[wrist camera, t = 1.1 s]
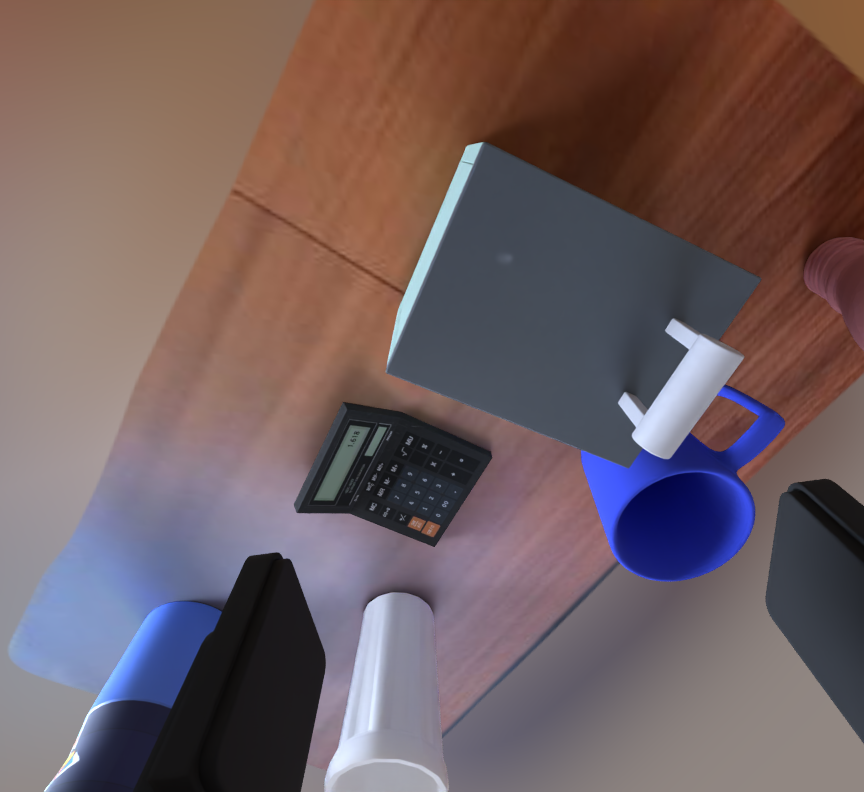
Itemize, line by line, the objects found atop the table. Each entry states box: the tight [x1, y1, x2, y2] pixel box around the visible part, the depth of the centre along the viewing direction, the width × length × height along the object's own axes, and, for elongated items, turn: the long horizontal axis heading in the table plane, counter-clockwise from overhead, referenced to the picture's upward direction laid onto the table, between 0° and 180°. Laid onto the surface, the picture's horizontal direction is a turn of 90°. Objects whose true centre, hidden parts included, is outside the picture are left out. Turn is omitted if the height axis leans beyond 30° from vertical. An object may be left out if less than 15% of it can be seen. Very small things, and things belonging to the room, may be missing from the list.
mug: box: [581, 385, 785, 581], centre depth 33 cm, size 8×12×10 cm
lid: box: [386, 142, 761, 468], centre depth 22 cm, size 14×11×5 cm
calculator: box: [294, 402, 492, 547], centre depth 38 cm, size 9×12×3 cm
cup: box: [324, 592, 449, 792], centre depth 40 cm, size 8×8×14 cm
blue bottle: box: [44, 601, 222, 792], centre depth 36 cm, size 9×9×25 cm
